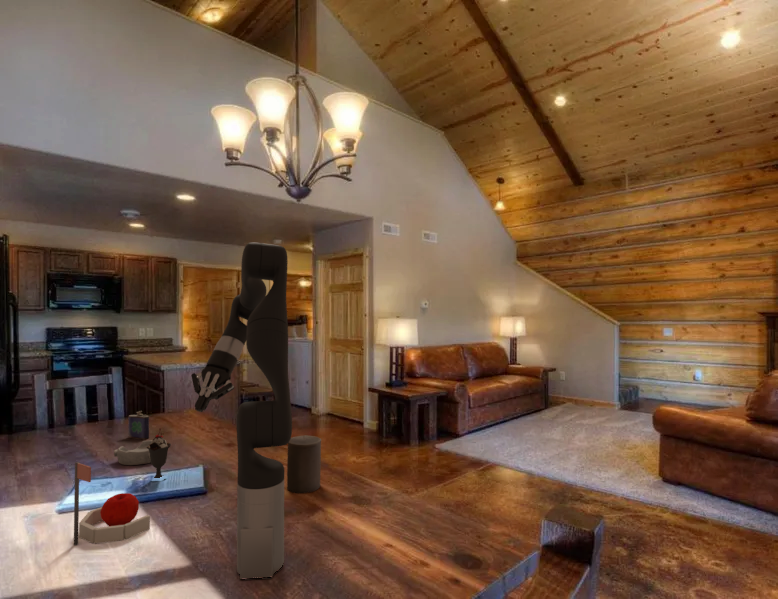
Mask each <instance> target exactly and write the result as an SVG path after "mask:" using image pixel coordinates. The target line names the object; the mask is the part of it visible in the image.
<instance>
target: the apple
mask: <svg viewBox="0 0 778 599" xmlns="http://www.w3.org/2000/svg"><path fill="white" fill-rule="evenodd" d="M101 507H102V509H101V512H100V514H101V518H102V520H103V521H102V522H104V523H105V525H106V526H107V527H109V526H117V525H125V524H127V523H129V522H132V521H134V520H135V518H136V517H137V514H138V511H139V509H140V508H139V507H140V501H139V500H138V498H137V497H136V496H135V495H134V494H133V493H129V492H126V493H118V494H115V495H113V496H111V497H109V498H107V500H105V501H104V503H103V505H102V506H101Z"/></svg>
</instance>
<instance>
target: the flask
mask: <svg viewBox="0 0 778 599" xmlns="http://www.w3.org/2000/svg"><path fill="white" fill-rule="evenodd" d="M142 412H143V411H142V410H139V411H136V414H130V415H128V426H127V427H128V430H127V433H128V434H127V435H128V436H127V437H128V438H129V439H135V440H136V439H137V440H150V416H149V415H147V414H143V413H142Z"/></svg>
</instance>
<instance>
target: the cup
mask: <svg viewBox="0 0 778 599" xmlns="http://www.w3.org/2000/svg"><path fill="white" fill-rule="evenodd" d="M91 474H92V467H91V466H89V465H86V464H83V463H80V461H76V462H74V497H73V498H74V500H73V501H74V503H73V505H74V507H73V508H74V510H73V518H74V519H73V546H77V545H79V538H80V539H83V540H85V541H87V542H89V543H91V544H95V545H96V544H103V543H112V542H118V541H119V542H120V541H124V540H128V539H130V538H132V537H134V536H136V535H139V534H141V533H143V532H145V531H148V530H150V528H151V515H149V514H147V515H144V516H142V517H140V518H136V519H133V520H132V521H131V522H129V523H127V524H125V525H117V526H101V527H96V526H94V525H95V524H97V523H100V522H104V521H103V520H102V518H101V514H100V512H101V509H102V507H103V506H101V507H98V508H95V509H92V510H90V511H89V512H87V513H86V514H85V516H84V517H83V518H82V519H81V520H80V521H79V514H80V513H79V512H80V510H79V508H80V507H79V506H80V503H79V502H80V501H79V500H80V480H82V481H84V482H87V483H92V475H91Z"/></svg>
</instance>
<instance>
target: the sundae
mask: <svg viewBox="0 0 778 599" xmlns="http://www.w3.org/2000/svg"><path fill="white" fill-rule="evenodd" d="M161 432H162V428H161V427H160V428H159V431H158V434H156V435H155V437H153V439H151V440H152V442H151V444H150V445H149V446H148V447H147V449H149V453H150V460H151V463H150V464H151V466H152V467H153V468H155V469H156V470H155V471H156V473H155V475H154V476H153V477H154V478H160V477H162V476H163V474H162V472H161V471H162V468H163V466H164V465H165V464H166V463H167V458H168V452H169V448H171V446H172V445H171V442H167V440H166V439H164V436H163V435H162V433H161Z"/></svg>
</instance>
